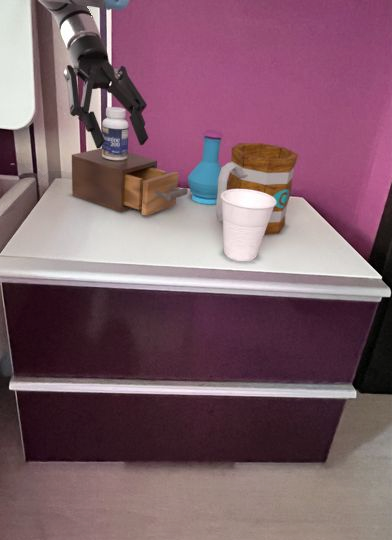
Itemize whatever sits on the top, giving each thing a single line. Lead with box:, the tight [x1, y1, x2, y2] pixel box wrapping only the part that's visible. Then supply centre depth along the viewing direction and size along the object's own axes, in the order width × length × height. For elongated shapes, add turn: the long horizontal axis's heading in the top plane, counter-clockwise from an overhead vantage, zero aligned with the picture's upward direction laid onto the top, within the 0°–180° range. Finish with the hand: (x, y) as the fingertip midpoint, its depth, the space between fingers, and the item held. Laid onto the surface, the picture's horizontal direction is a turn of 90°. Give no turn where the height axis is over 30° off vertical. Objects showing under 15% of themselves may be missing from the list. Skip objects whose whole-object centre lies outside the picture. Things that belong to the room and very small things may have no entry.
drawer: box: [123, 167, 189, 217], centre depth 118 cm, size 17×11×7 cm, turn 56°
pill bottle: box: [101, 106, 130, 161], centre depth 117 cm, size 5×5×10 cm
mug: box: [215, 142, 299, 236], centre depth 114 cm, size 20×14×15 cm
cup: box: [221, 189, 277, 262], centre depth 102 cm, size 10×10×11 cm
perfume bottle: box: [187, 129, 229, 205], centre depth 126 cm, size 9×9×15 cm
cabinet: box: [71, 147, 158, 213], centre depth 122 cm, size 14×12×9 cm
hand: (123, 143), depth 116 cm, fingers open, 10 cm apart
